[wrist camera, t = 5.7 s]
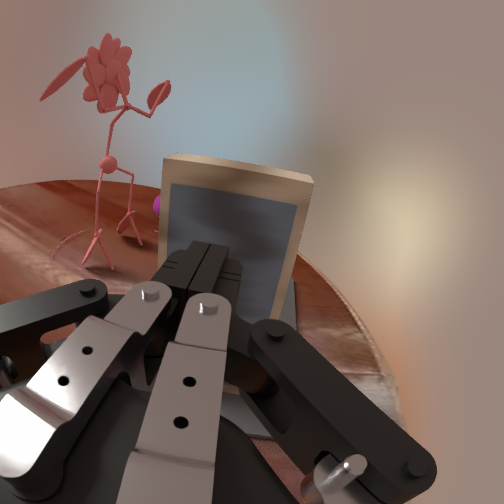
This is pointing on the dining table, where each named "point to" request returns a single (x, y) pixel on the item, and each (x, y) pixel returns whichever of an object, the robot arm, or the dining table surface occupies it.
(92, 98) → the figurine
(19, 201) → the dining table surface
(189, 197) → the birch picture frame
